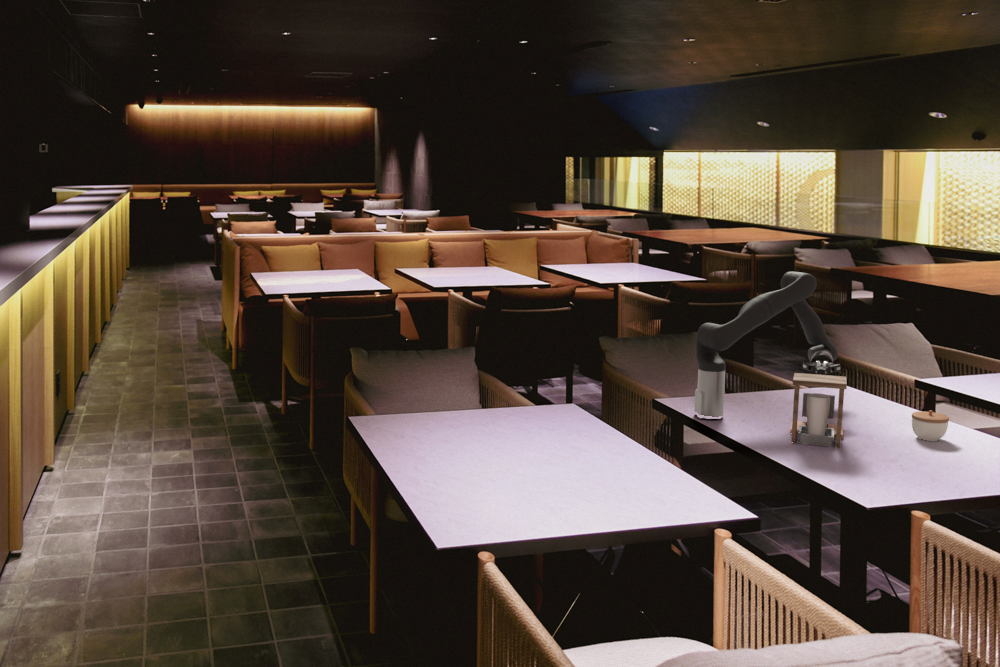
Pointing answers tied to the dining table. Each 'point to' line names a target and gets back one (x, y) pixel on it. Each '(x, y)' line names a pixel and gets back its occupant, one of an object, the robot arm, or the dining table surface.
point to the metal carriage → (817, 439)
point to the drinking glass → (817, 413)
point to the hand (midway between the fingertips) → (821, 372)
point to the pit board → (826, 427)
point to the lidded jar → (929, 425)
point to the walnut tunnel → (818, 381)
